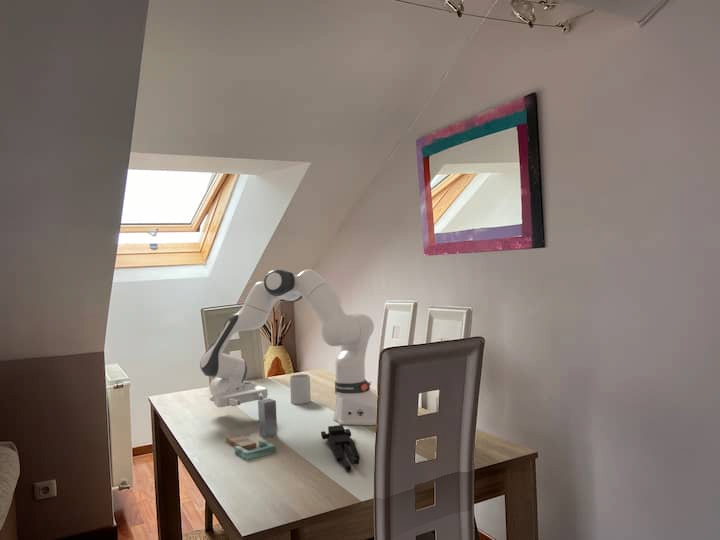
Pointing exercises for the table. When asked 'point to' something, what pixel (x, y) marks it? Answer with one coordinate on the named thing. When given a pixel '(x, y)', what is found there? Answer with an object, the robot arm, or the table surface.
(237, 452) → the tray
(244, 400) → the robot arm
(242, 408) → the table surface
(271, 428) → the block
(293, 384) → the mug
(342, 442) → the toy
